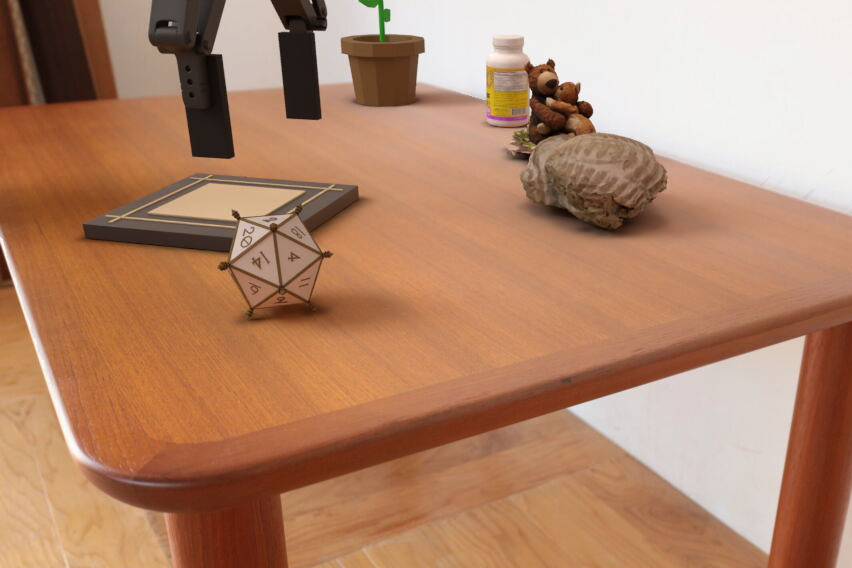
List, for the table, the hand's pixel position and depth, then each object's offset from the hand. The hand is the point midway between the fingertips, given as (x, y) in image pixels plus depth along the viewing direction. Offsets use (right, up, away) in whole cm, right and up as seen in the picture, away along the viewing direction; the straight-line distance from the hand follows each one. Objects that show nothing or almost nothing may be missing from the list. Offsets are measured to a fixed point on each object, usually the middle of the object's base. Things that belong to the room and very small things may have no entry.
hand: (263, 136), depth 65 cm
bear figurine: (+25, +9, +54) cm, 60 cm away
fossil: (+27, -1, +31) cm, 41 cm away
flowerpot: (-4, +26, +90) cm, 94 cm away
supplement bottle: (+18, +18, +73) cm, 77 cm away
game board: (-11, -2, +28) cm, 30 cm away
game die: (0, -13, +6) cm, 14 cm away
